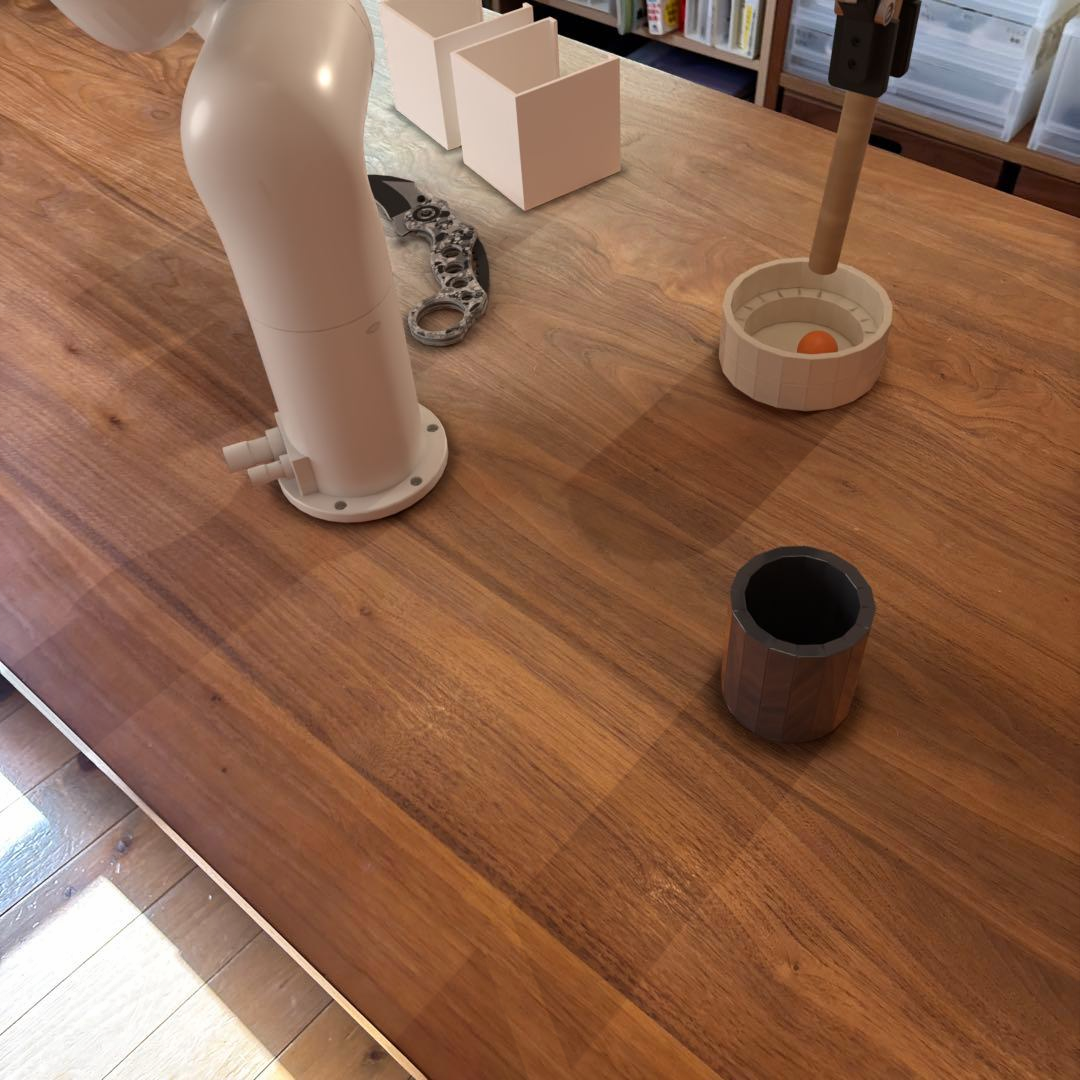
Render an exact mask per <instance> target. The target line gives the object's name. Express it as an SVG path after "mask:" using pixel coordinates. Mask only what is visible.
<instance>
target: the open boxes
mask: <svg viewBox="0 0 1080 1080" xmlns="http://www.w3.org/2000/svg"><path fill="white" fill-rule="evenodd" d="M377 6H378V12H379V17H380V23H381V24H380V25H381V30H382V35H383V41H384V47H385V53H386V60H387V65H388V71H389V77H390V84H391V89H392V96H393V101H394V107H395V110H396V111H398V112H399V113H400V114H401V115H402V116H404V117H405V118H406V119H408V121H410V122H411V123H413V124H414V125H415V126H416V127H417V128H419V129H420V130H421V131H422V132H424V133H425V134H426V135H428V136H429V137H430V138H432V139H433V140H434V141H436V142H437V143H438V144H439V145H440V146H441V147H443V148H444V149H446V150H447V151H448V152H449V151H451V150H454V149H456V148H459V147H461V151H462V160H463V164H465V165H466V166H467V167H468V168H469V169H470V170H472V171H473V172H474V173H476V175H478V176H479V177H481V178H482V179H483V180H484V181H485V182H487V183H488V184H490V186H492V187H493V188H495V189H496V190H497V191H498V192H499V193H501V194H502V195H503V196H505V197H506V198H507V199H508V200H509V201H511V202H512V203H514V204H515V205H516V206H517V207H519V209H521V210H522V211H524V212H527V211H529V210H531V209H533V208H535V207H538V206H540V205H543V204H546V203H549V202H550V201H552V200H554V199H557V198H559V197H561V196H564V195H566V194H569V193H571V192H574V191H576V190H579V189H581V188H584V187H585V186H588V185H590V184H594V183H595V182H598V181H601V180H602V179H604V178H607V177H609V176H612V175H614V174H616V173H619V172H621V170H622V165H621V163H622V162H621V161H622V160H621V79H620V78H621V69H620V68H621V65H620V64H621V63H620V62H621V61H620V60H621V59H620V56H618V55H616V54H614V53H613V52H612V53H609V54H608V59H605V60H602V61H601V62H598V63H595V64H592V65H589V66H587V67H584V68H581V69H579V70H576V71H574V72H571V73H569V74H566V75H563V76H561V73H560V71H561V70H560V53H559V52H560V51H559V33H558V32H559V31H558V20H557V19H556V18H553V17H551V16H548V17H546V18H542V19H539V20H537V21H535V20H534V6H533V5H531V4H530V3H528V2H523V3H522V7H520V8H518V9H515V10H512V11H509V12H506V13H503V14H500V15H497V16H494V17H492V18H489V19H486V20H484V11H483V10H484V9H483V2H482V0H382V1H379V2H377Z"/></svg>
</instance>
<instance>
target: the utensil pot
mask: <svg viewBox="0 0 1080 1080" xmlns="http://www.w3.org/2000/svg"><path fill="white" fill-rule="evenodd" d="M727 603H728V604H727V613H726V623H725V632H724V643H723V651H722V652H723V653H722V661H721V671H720V684H721V693H722V697H723V701H724V702H725V704H726V706H727V708H728V710H729V712H730V713H731V714H732V715H733V717H734V719H735V720H737V721H738V722H739V723H740V724H741V725H743V726H744V727H745V728H746V729H748V730H749V731H751V732H752V733H754V734H755V735H758V736H760V737H763V738H765V739H768V740H771V741H775V742H781V743H795V744H796V743H808V742H810V741H811V742H812V741H814V740H818V739H821V738H822V737H825V736H827V735H828V734H831V733H832V732H833V731H834V730H835V729H836V728H837V727H838V726H839V725H841V723H842V722H843V721H844V720H845V719H846V718H847V716H848V714H849V711H850V708H851V704H852V701H853V698H854V694H855V691H856V686H857V683H858V680H859V675H860V671H861V668H862V665H863V661H864V657H865V653H866V649H867V646H868V643H869V638H870V634H871V631H872V627H873V623H874V619H875V617H876V615H875V614H876V611H877V605H876V602H875V597H874V593H873V589H872V586H871V584H870V583H869V582H868V581H867V580H866V578H865V577H864V575H862V573H861V572H860V570H859V569H858V568H857V567H856V566H855V565H853V564H852V563H850V562H848V561H847V560H846V559H844V558H842V557H840V556H839V555H837V554H836V553H833V552H832V551H827V550H824V549H821V548H816V547H813V546H809V545H788V546H787V545H784V546H777V547H775V548H772V549H769V550H766V551H764V552H763V551H762V552H760V553H758V554H756V555H754V556H753V557H751V558H750V559H749V560H748V561H747V562H746V563H744V564H743V565H742V566H741V567H740V568H739V569H738V570H737V571H736V573H735V576H734V578H733V581H732V583H731V586H730V588H729V593H728V602H727Z"/></svg>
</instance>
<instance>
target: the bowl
mask: <svg viewBox="0 0 1080 1080" xmlns="http://www.w3.org/2000/svg"><path fill="white" fill-rule="evenodd" d="M809 258H810V257H807V256H799V257H788V258H778V259H774V260H771V261H768V262H767V261H766V262H763V263H760V264H757V265H755V266H752V267H751V268H749V269H748V270H746V271H744V272H742V273H741V274H739V275H737V276H736V278H735V279H734V280H733V281H732V282H731V284H729V286H728V287H727V288H726V290H725V294H724V297H723V300H722V305H721V319H720V334H719V346H718V347H719V348H718V359H719V363H720V367H721V370H722V373H723V374H724V376H725V377H726V378H727V379H728V381H729V383H731V385H732V386H733V387H734V388H735V389H737V390H739V391H740V392H742V393H743V394H745V395H746V396H748V397H749V398H751V399H752V400H754V401H756V402H758V403H761V404H765V405H767V406H771V407H773V408H776V409H783V410H792V411H799V412H800V411H801V412H814V411H822V410H823V411H824V410H832V409H835V408H838V407H841V406H844V405H847V404H850V403H853V402H854V401H857V399H859V398H861V397H862V396H863V395H865V394H866V393H868V392H870V390H871V389H872V388H873V387H874V385H875V383H876V382H877V380H878V379H879V377H880V376H881V374H882V368H883V364H884V360H885V355H886V350H887V346H888V342H889V336H890V332H891V327H892V324H893V323H892V322H893V310H894V308H893V307H894V306H893V303H892V301H891V300H890V297H889V295H888V293H887V290H886V289H885V288H884V287H883V286H881V284H880V283H879V282H878V281H877V280H876V279H874V278H873V277H872V276H871V275H869V274H867V273H864V272H863V271H862V270H859V269H858V268H856V267H853V266H851V265H848V264H845V263H841V262H838V266H837V270H836V271H835V272H834V273H832V274H830V275H819V274H816V273H814V272H812V271H811V270H810V269H809V267H808V262H809ZM812 331H824V332H827V333H829V334H830V335H831V336H832V337H833V338H834V339H835V341H836V343H837V346H838V352H833V353H822V354H803V353H797V347H798V344H799V342H800V340H801V339H802V338H803V337H804V336H805V335H806V334H808V333H810V332H812Z"/></svg>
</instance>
